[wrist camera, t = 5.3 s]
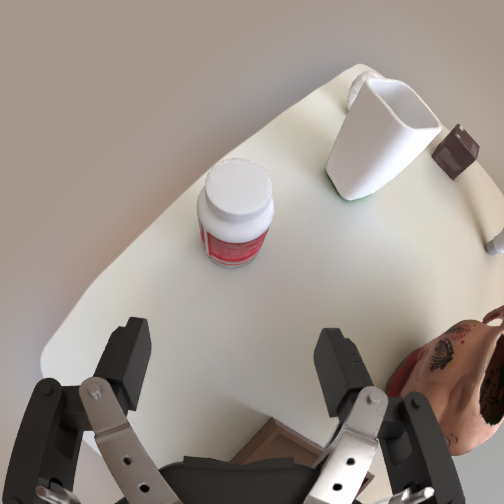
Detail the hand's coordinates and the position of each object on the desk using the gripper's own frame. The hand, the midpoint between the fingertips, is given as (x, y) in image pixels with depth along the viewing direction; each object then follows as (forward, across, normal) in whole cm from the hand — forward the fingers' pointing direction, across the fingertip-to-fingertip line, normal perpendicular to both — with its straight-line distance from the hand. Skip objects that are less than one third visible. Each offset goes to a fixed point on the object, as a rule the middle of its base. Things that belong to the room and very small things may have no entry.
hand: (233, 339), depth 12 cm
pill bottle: (+18, 0, +3) cm, 18 cm away
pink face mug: (+6, -24, +14) cm, 28 cm away
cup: (+24, -15, -4) cm, 29 cm away
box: (+31, -38, -10) cm, 50 cm away
